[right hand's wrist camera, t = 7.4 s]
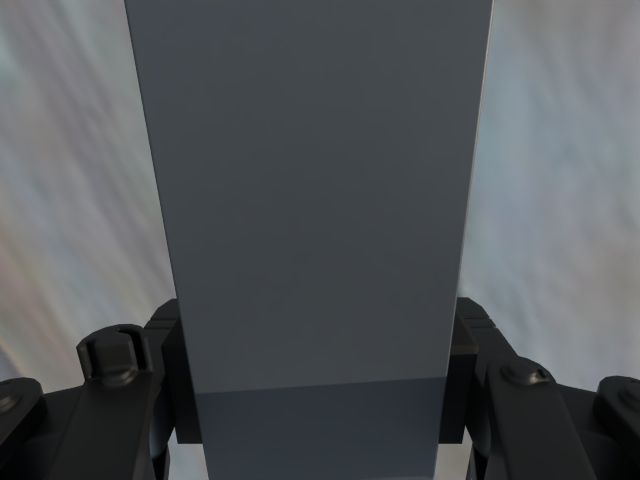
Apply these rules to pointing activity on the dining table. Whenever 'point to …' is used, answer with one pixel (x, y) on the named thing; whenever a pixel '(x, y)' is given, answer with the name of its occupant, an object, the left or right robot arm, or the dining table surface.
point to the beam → (314, 220)
